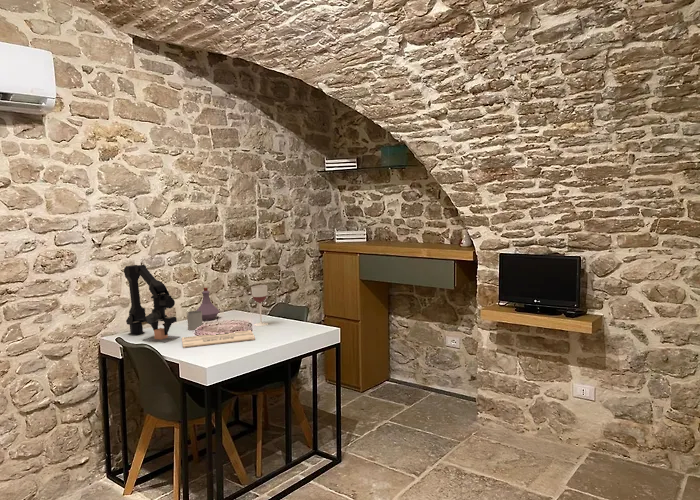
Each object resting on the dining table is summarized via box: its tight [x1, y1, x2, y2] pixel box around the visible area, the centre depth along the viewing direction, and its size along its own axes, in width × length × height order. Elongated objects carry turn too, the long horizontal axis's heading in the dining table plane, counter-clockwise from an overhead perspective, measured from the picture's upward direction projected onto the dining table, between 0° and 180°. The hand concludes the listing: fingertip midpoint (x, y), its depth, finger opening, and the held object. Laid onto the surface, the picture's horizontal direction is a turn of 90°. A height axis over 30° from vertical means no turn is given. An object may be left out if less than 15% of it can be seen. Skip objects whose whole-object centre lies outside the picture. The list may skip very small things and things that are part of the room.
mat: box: [142, 335, 180, 343], centre depth 305 cm, size 16×12×1 cm
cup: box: [186, 310, 204, 331], centre depth 326 cm, size 8×8×10 cm
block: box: [153, 327, 169, 340], centre depth 304 cm, size 5×5×5 cm
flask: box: [196, 287, 221, 322], centre depth 352 cm, size 16×16×20 cm
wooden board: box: [181, 329, 256, 349], centre depth 296 cm, size 37×19×3 cm, turn 109°
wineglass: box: [250, 284, 269, 327], centre depth 331 cm, size 9×10×23 cm
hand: (161, 334), depth 304 cm, fingers open, 7 cm apart
